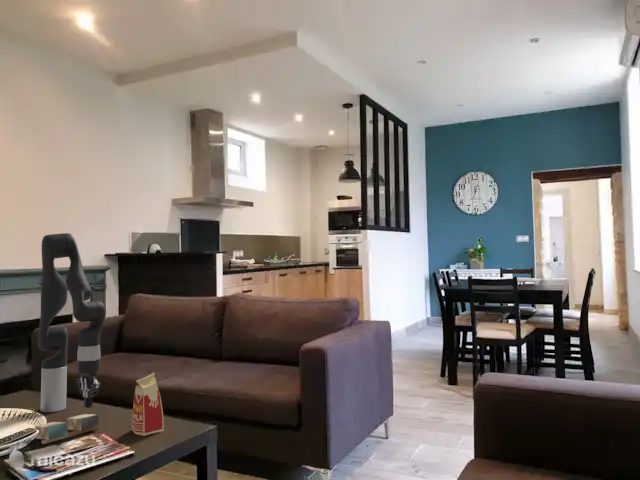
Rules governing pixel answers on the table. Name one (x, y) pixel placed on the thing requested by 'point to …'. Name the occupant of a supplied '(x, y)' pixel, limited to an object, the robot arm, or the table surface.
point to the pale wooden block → (83, 422)
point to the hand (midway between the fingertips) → (88, 407)
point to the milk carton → (147, 407)
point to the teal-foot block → (52, 430)
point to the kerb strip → (69, 435)
